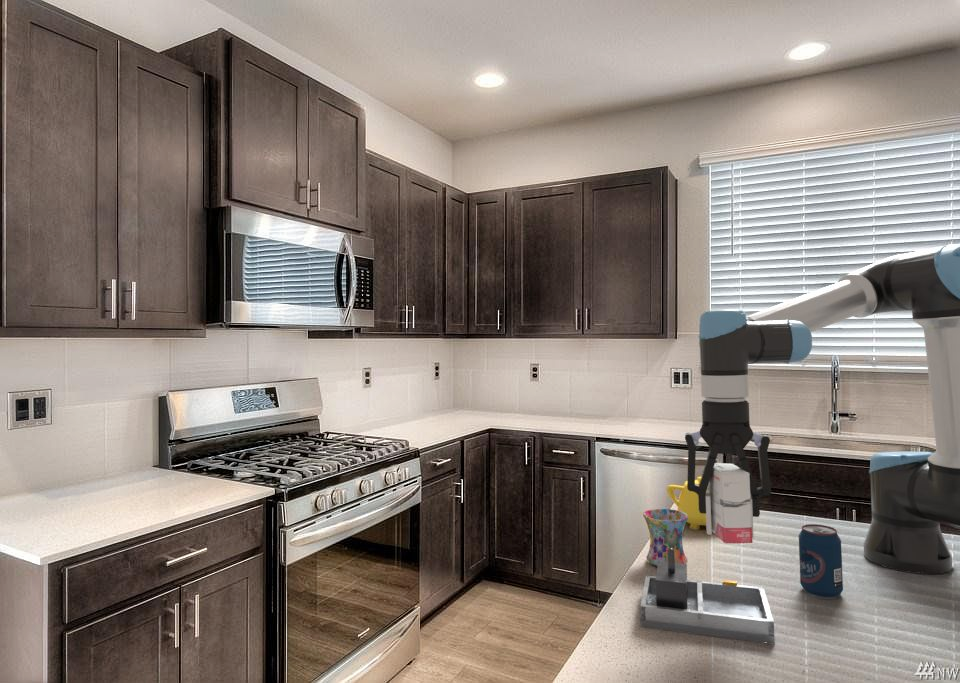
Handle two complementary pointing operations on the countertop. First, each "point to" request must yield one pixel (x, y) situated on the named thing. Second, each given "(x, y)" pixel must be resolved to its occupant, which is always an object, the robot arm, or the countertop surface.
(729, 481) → the ink box
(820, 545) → the soda can
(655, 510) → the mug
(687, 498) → the teapot
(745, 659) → the countertop surface
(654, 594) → the divided grey tray
